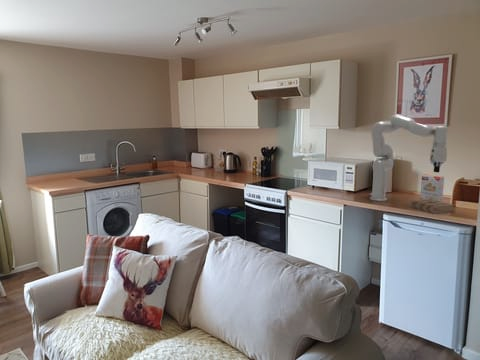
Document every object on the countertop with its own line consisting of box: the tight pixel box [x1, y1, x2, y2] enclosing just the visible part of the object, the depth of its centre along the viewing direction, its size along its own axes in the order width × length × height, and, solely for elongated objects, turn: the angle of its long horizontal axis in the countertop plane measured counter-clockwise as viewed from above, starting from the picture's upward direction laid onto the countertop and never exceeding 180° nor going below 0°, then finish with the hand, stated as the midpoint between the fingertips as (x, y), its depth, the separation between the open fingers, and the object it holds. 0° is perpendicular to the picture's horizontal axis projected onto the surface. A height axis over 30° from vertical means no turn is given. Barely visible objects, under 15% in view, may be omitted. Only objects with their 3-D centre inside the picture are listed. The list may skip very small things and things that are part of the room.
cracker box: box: [419, 173, 445, 202], centre depth 268 cm, size 14×6×21 cm, turn 31°
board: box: [410, 198, 454, 215], centre depth 250 cm, size 20×16×5 cm
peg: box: [429, 196, 435, 203], centre depth 250 cm, size 3×3×9 cm
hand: (436, 172), depth 245 cm, fingers closed
